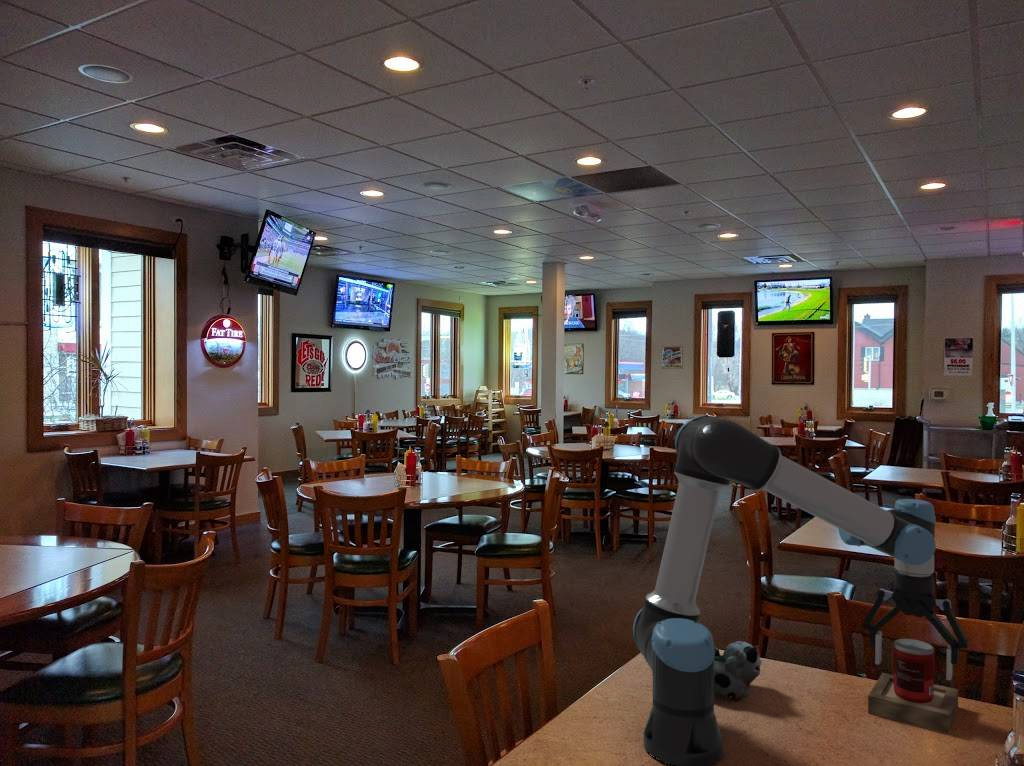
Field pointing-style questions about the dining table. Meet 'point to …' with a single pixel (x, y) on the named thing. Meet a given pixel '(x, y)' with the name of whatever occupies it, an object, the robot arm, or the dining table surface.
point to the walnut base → (914, 705)
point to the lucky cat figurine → (736, 669)
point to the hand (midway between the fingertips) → (912, 670)
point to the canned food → (913, 670)
